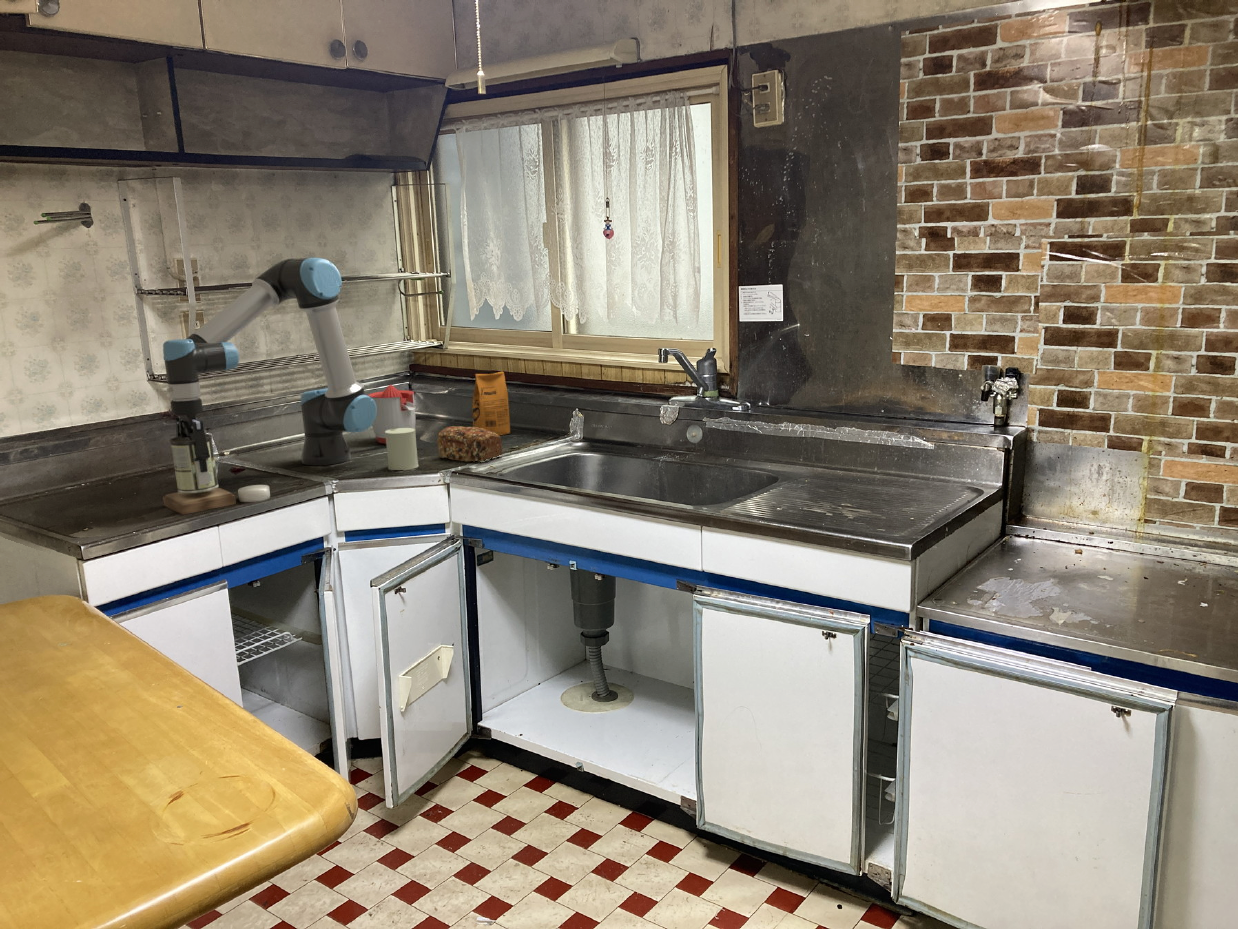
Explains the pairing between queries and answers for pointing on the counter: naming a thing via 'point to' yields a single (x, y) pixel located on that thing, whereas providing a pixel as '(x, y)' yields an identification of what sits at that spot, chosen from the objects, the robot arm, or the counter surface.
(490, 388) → the coffee package
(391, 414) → the citrus juicer
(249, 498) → the white rounded flat block
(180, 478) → the coffee can
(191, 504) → the plinth
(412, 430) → the pale green cylinder
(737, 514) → the counter surface
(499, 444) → the bread
